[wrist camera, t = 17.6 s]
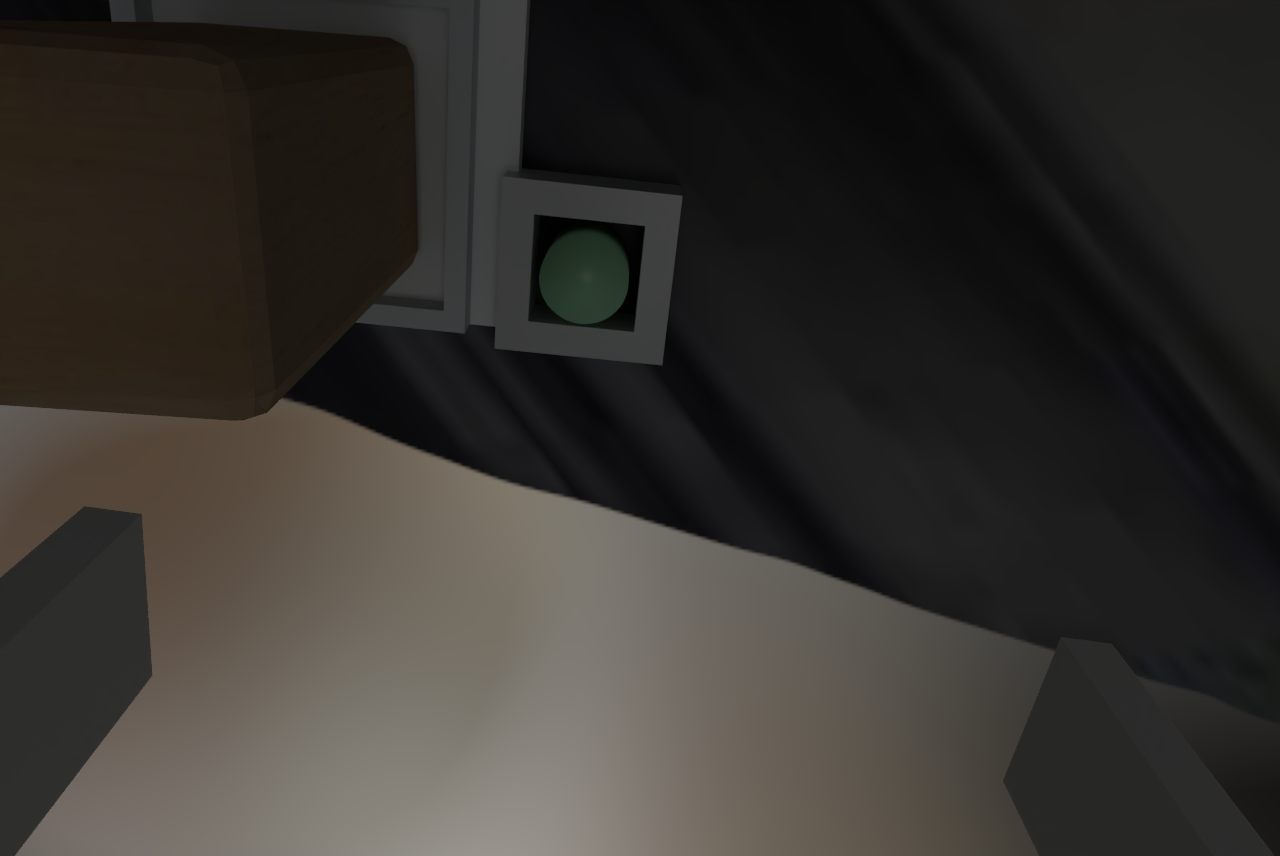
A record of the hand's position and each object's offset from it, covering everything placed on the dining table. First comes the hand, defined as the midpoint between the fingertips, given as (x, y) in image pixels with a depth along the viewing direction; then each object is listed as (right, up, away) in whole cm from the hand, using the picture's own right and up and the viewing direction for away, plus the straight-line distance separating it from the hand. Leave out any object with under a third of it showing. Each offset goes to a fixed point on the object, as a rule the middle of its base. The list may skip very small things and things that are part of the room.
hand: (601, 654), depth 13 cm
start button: (-2, +11, +31) cm, 33 cm away
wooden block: (-14, +16, +29) cm, 36 cm away
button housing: (-2, +11, +32) cm, 34 cm away
